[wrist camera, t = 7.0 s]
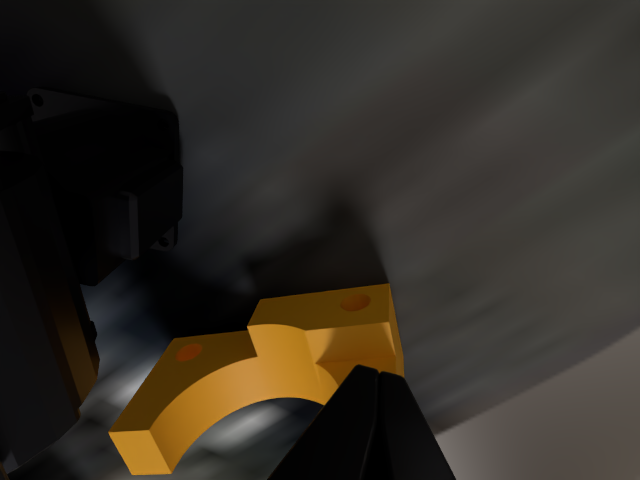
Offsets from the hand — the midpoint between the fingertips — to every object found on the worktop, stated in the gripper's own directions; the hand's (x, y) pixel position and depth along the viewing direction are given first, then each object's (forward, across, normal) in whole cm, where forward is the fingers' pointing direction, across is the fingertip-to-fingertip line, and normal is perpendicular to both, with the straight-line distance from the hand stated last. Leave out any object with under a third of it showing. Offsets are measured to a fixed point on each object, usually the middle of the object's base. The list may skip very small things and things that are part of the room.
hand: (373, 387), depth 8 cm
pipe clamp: (+12, +4, +9) cm, 16 cm away
